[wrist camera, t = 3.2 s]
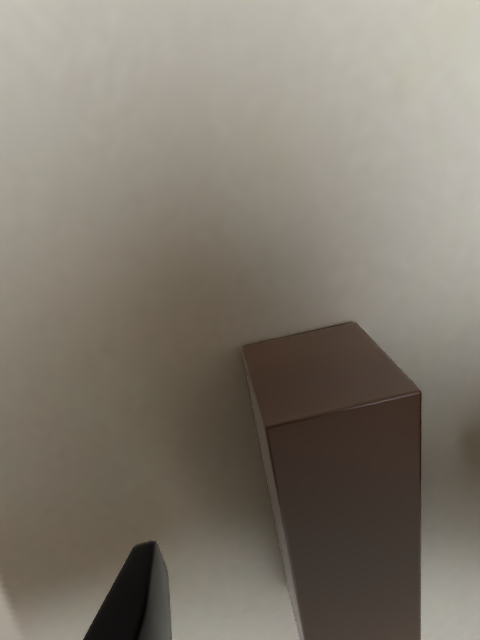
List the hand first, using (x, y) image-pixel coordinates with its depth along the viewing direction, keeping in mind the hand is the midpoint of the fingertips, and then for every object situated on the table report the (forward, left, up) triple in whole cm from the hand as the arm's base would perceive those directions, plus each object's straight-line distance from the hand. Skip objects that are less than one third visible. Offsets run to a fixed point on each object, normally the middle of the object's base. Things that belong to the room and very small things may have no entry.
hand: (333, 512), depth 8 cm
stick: (0, 0, -1) cm, 1 cm away
